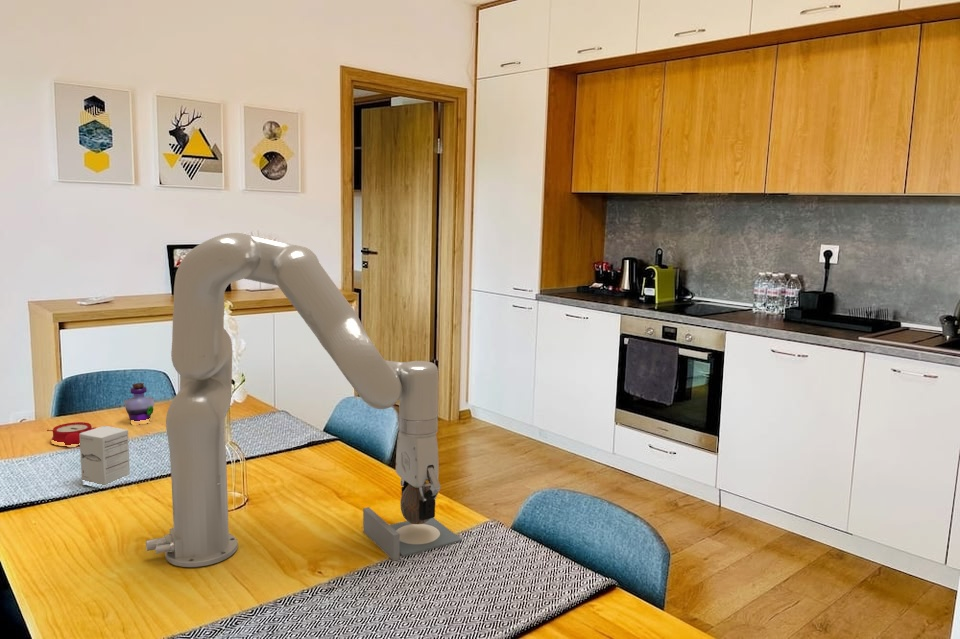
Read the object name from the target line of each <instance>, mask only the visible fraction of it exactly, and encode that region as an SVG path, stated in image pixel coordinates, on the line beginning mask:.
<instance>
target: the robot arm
mask: <svg viewBox="0 0 960 639" xmlns="http://www.w3.org/2000/svg"><path fill="white" fill-rule="evenodd" d="M241 280H248V281H249V280H250V281H252V282H253V281H254V282H257V283H263V284H269V285H273V286H277V287H278V288H279V290H280V291H281V292H282V293H283V295H284V296H285V297H286V298H287V300H288V301H289V302H290V303H291V305H292V306H293V307H294V309H295V310H296V311H297V313H298V314H299V315H300V317H301V318H302V319H303V321H304V322H305V324H306V325H307V326H308V328H309V329H310V330H311V332H312V333H313V334H314V336H315V337H316V338H317V340H318V341H319V343H320V344H321V346H322V347H323V349H324V350H325V351H326V352H327V354H328V355H329V356H330V357H331V359H332V360H333V362H334V363H335V364H336V366H337V368H338V369H339V371H340V372H341V373H342V374H343V376H344V377H345V379H346V380H347V381H348V383H349V384H350V385H351V387H353V389H354V391H355V392H356V393H357V395H358V396H359V397H360V398H361V400H362V401H363V402H364V403H365V404H366V405H367V406H368V407H370V408H373V409H375V410H386V409H390V408H391V407H393V406H395V404H397V403H398V404H399V405H398V415H399V416H398V422H399V423H398V433H397V434H398V435H397V441H396V451H395V453H396V454H395V455H396V457H395V473H396V475H398V477H399V478H401V479H400V486H401V494H402V493H403V491H404V490H405V488H406V487H407V486H408V485H409V484H410V485H412V486H413V487H415V488H419V490H420V495H421V500H419V519H420V520H421V521H422V520H426V519H430V518H435V517H436V499H437V496H438V494H439V491H440V490H441V486H442V485H441V484H440V482H439V474H440V472H439V469H440V468H439V467H440V466H439V465H440V464H439V462H440V461H439V447H438V438H437V434H438V433H439V432H438V429H439V428H438V424H439V420H438V417H439V415H438V414H439V413H438V412H439V368H438V366H437V365H436V364H435V363H434V362H431V361H428V360H427V361H426V360H412V361H407V362H406V361H394V360H387V359H384V357H383V356H382V354H381V353H380V351H379V350H378V348H377V347H376V346H375V344H374V343H373V342H372V340H371V339H370V337H369V335H368V334H367V332H366V330H365V328H364V326H363V324H362V322H361V320H360V318H359V316H358V314H357V313H356V310H355V309H354V307H353V306H352V305H351V304H350V303H349V301H348V300H347V299H346V297H345V296H344V295H343V293H342V292H341V290H339V288H338V286H337V285H336V284H335V282H334V281H333V279H332V278H331V277H330V276H329V274H328V273H327V271H326V270H325V269H324V267H323V266H322V264H321V262H320V260H319V259H318V256H317V255H316V254H315V253H314V252H313V251H312V250H311V249H309V248H308V247H306V246H302V245H297V244H291V243H286V242H281V241H276V240H272V239H269V238H263V237H259V236H254V235H251V234H246V233H241V232H230V233H224V234H220V235H217V236H214V237H212V238H209V239H207V240H205V241H203V242H202V243H200V244H198V245H196V246H195V247H193V248H192V249H191V250H190V251H188V253H186V255H185V256H184V257H183V259H182V260H181V262H180V263H179V265H178V268H177V270H176V274H175V276H174V286H173V308H172V309H173V310H172V311H173V312H172V332H171V333H172V334H171V335H172V336H171V337H172V339H171V340H172V341H171V352H170V353H171V363H172V366H173V368H174V369H175V371H176V372H177V374H178V375H179V391H178V392H177V394H176V395H175V396H174V397H173V399H172V401H171V402H170V404H169V406H168V408H167V412H166V417H165V418H166V419H165V424H166V425H165V427H166V434H167V435H166V436H167V442H168V448H169V460H170V476H171V477H170V478H171V499H172V502H171V504H172V523H173V524H172V525H173V527H172V528H169V534H165V535H164V536H163V537H159V538H152V539H148V540H145V550H146V552H151V551H154V550H155V554H156V555H157V554H163V553H164V554H165V556H164V557H165V559H166V561H167V562H168V563H170V564H171V565H174V566H177V567H180V568H181V567H183V568H200V567H206V566H211V565H215V564H217V563H220V562H222V561H225V560H227V559H228V558H230V557H232V556H233V555H234V554H235V552H236V551H237V549H238V548H239V546H238V539H237V538H236V536H234V535H233V534H231V533H230V531H229V504H228V501H229V498H228V497H229V496H228V469H227V468H228V467H227V449H226V440H225V420H226V417H227V414H228V412H229V410H230V407H231V403H232V390H233V388H232V386H233V385H232V384H233V383H232V380H233V344H232V339H231V336H230V334H229V333H228V331H227V330H226V329H225V327H224V325H225V319H224V318H225V292H226V289H227V287H228V286H229V285H230V284H231V283H233V282H235V283H236V282H238V281H241ZM425 481H428V482H426V483H427V484H424V482H425ZM424 487H429V488H430V490H428V491H427V492H426V494H425V489H424Z"/></svg>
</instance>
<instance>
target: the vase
mask: <svg viewBox="0 0 960 639" xmlns="http://www.w3.org/2000/svg"><path fill="white" fill-rule="evenodd" d="M427 483H428V482H426V481H425V482H424V484H427ZM424 489H425V494H426V492H427V491H428V490H430V488H429V487H424ZM400 496H401V497H400V503H399V505H400V511H401V515H402V516H403V519H405V521H408V522H409V523H411V524H424V523H426V522H427V521H428V520H429V519H426V520H422V521H421V520H420V519H419V500H421V495H420V490H419V488H415V487H413V486H412V485H410V484H409V485H408V486H407V487H406V488H405V490H404V491H403V493H402V492H401V495H400Z"/></svg>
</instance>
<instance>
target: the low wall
mask: <svg viewBox="0 0 960 639" xmlns="http://www.w3.org/2000/svg"><path fill="white" fill-rule="evenodd" d="M362 509H363V510H362V511H363V515H362V516H363V517H362V518H363V519H362V521H363V522H362V524H363V525H362V528H363V529H362V531H363V533H364V534H365V535H366V536H367V537H368V538H369V539H370V540H371V541H372V542H373V543H374V544H375V545H376V546H377V547H378V548H379V549H381V550H382V551H383V553H385V555H387V556H388V557H389V558H390V559H391V561H393V562H394V561H399V560H400V554H399V543H400V534H399V533H398V532H397V531H396V530H394V529H393V528H392V527H391V526H390V525H391V524H389V523H388V522H386V521H385V520H384V519H383V518H382V517H381V516H380V515H378V513H376V512H375V511H374V510H373V509H371V507H369V506H367V507H363V508H362Z"/></svg>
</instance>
